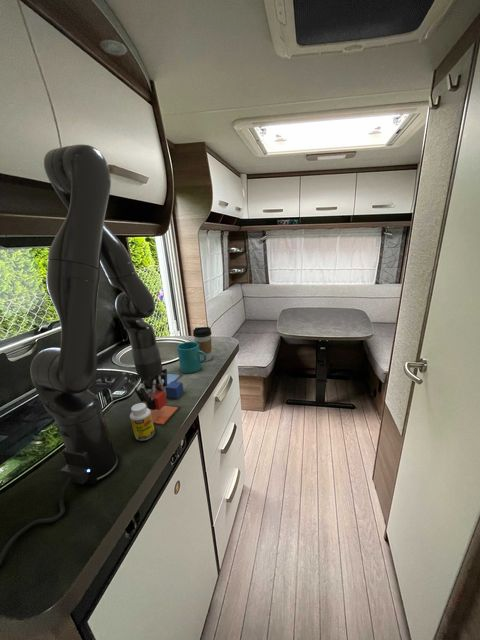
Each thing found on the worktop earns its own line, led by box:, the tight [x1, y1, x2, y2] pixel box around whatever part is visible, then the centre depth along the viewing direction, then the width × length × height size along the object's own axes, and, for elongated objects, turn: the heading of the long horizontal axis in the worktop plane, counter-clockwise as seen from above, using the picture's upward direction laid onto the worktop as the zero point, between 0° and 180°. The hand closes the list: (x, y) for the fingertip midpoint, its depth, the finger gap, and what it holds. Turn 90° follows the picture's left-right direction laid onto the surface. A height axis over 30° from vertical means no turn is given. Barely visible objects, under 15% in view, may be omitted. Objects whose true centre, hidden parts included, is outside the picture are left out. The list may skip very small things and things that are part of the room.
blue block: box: [164, 381, 184, 400], centre depth 102 cm, size 4×4×4 cm
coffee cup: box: [192, 326, 212, 362], centre depth 129 cm, size 8×8×15 cm
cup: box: [176, 341, 207, 374], centre depth 120 cm, size 9×12×11 cm
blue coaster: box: [162, 373, 181, 385], centre depth 114 cm, size 8×8×1 cm
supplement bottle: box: [129, 402, 156, 442], centre depth 81 cm, size 6×6×10 cm
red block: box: [145, 389, 168, 410], centre depth 90 cm, size 4×4×4 cm
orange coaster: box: [149, 405, 179, 425], centre depth 92 cm, size 9×9×1 cm
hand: (157, 404), depth 91 cm, fingers closed on red block, 4 cm apart
